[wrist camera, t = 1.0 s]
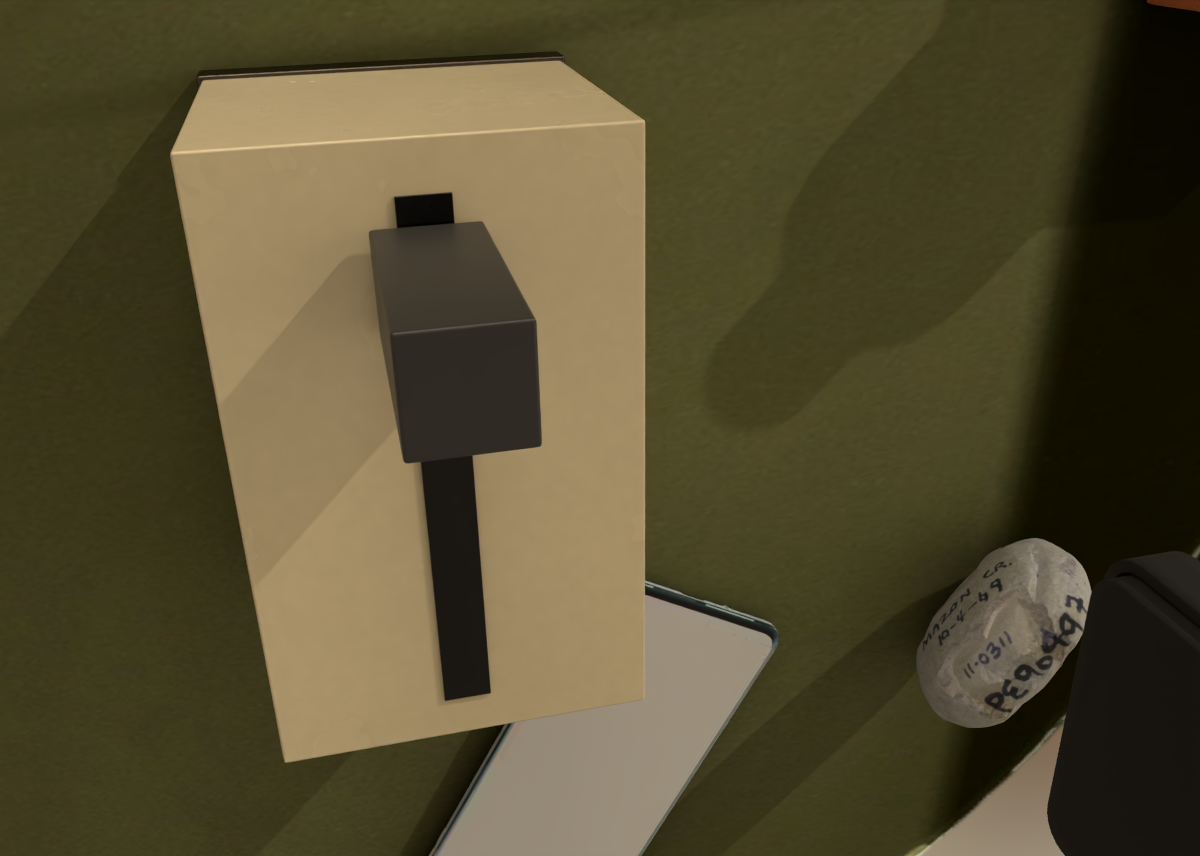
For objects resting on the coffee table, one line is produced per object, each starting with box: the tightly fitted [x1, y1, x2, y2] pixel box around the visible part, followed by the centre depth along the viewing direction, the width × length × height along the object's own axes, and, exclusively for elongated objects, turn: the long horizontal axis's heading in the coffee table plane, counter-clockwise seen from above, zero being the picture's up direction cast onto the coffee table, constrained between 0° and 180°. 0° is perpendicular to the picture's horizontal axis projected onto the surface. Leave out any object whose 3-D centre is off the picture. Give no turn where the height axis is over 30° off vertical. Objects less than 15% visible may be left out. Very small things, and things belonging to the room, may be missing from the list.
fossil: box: [916, 538, 1092, 728], centre depth 35 cm, size 6×3×5 cm, turn 150°
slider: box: [369, 221, 542, 464], centre depth 18 cm, size 2×2×5 cm
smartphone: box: [429, 581, 779, 856], centre depth 36 cm, size 7×1×15 cm
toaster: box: [170, 52, 645, 763], centre depth 25 cm, size 13×8×8 cm, turn 1°
